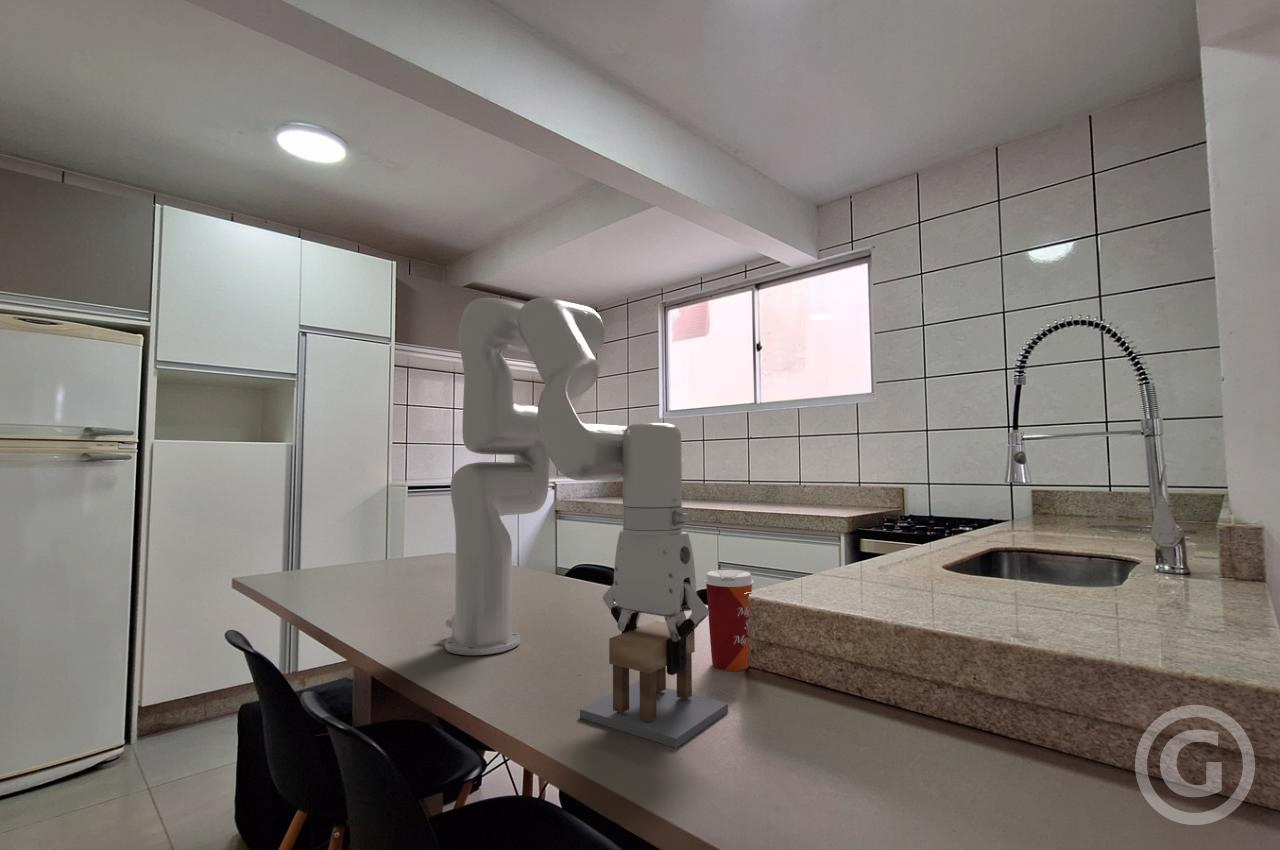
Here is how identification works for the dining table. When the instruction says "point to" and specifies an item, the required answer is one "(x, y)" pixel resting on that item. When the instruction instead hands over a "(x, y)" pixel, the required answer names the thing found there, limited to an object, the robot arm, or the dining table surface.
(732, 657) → the paper cup
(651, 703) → the footstool
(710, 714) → the mat
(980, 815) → the dining table surface
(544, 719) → the dining table surface
